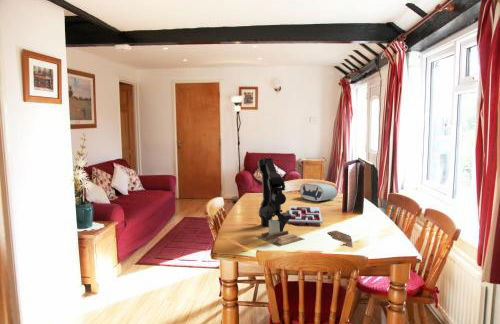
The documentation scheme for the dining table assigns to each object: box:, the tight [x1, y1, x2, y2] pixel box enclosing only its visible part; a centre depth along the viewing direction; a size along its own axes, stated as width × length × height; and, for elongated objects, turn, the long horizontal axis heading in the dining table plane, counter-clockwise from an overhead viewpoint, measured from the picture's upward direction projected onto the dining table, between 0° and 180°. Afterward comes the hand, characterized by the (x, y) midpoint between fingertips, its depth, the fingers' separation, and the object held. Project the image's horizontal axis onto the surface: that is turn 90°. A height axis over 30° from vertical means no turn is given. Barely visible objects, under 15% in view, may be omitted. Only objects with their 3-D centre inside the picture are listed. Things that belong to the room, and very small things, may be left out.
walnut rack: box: [256, 229, 305, 248], centre depth 184 cm, size 18×18×3 cm
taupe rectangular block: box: [268, 217, 280, 235], centre depth 187 cm, size 2×7×9 cm, turn 127°
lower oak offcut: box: [275, 236, 300, 246], centre depth 180 cm, size 5×12×1 cm, turn 127°
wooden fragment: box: [327, 229, 353, 248], centre depth 186 cm, size 26×11×1 cm, turn 1°
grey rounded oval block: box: [299, 182, 338, 202], centre depth 278 cm, size 22×19×13 cm
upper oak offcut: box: [277, 233, 297, 242], centre depth 180 cm, size 4×10×1 cm, turn 127°
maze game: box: [288, 205, 324, 226], centre depth 226 cm, size 35×20×3 cm, turn 173°
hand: (275, 229), depth 187 cm, fingers open, 9 cm apart
